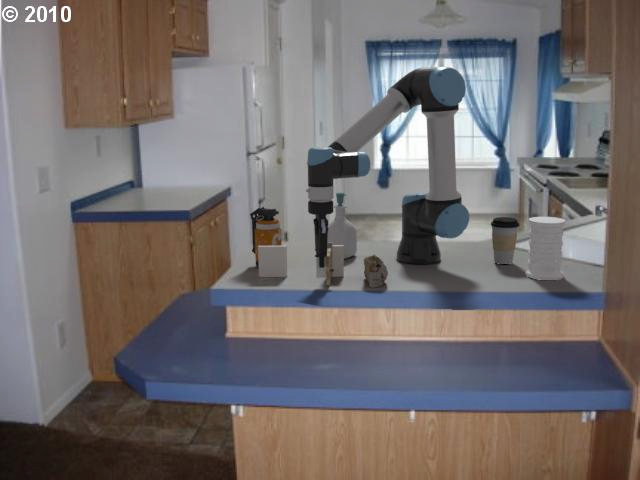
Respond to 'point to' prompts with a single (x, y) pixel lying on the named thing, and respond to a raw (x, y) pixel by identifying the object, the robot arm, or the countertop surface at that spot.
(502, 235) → the coffee cup
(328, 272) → the door
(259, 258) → the wall
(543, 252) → the decorative container
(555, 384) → the countertop surface
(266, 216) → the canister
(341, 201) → the soap bottle
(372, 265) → the rock
